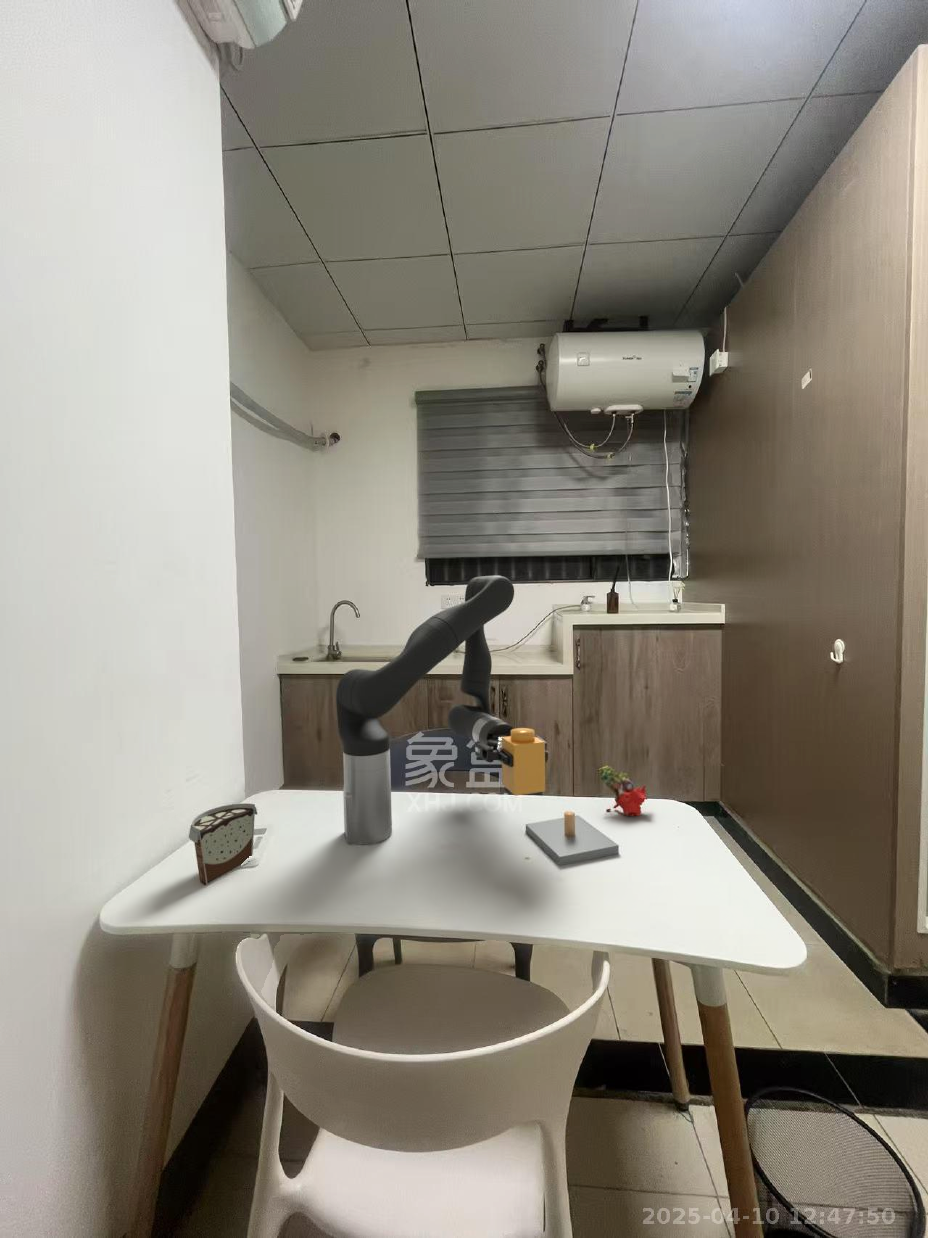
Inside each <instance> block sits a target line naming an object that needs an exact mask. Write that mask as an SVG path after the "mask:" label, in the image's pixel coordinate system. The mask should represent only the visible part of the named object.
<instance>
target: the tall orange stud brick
mask: <svg viewBox="0 0 928 1238" xmlns="http://www.w3.org/2000/svg"><path fill="white" fill-rule="evenodd" d="M544 741H545V740H544ZM544 741H542V740H540V739H538V738H537V737H535V730H534V729H533V728H527V727H517V728H515V729H512V730H511V736H508V737H502V747H503V748H504V750H507V751H508V752H509V753H511V754H512V755H513V767H509V766H507V765H505V764H503V763H502V762H501V784H502V786H503V787H505V788H506V789H507V790H508V791H509V792H510V793H512V795H514V796H524V795H528V794H530V795H531V794H537V793H542V792H546V763H545V742H544Z"/></svg>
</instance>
